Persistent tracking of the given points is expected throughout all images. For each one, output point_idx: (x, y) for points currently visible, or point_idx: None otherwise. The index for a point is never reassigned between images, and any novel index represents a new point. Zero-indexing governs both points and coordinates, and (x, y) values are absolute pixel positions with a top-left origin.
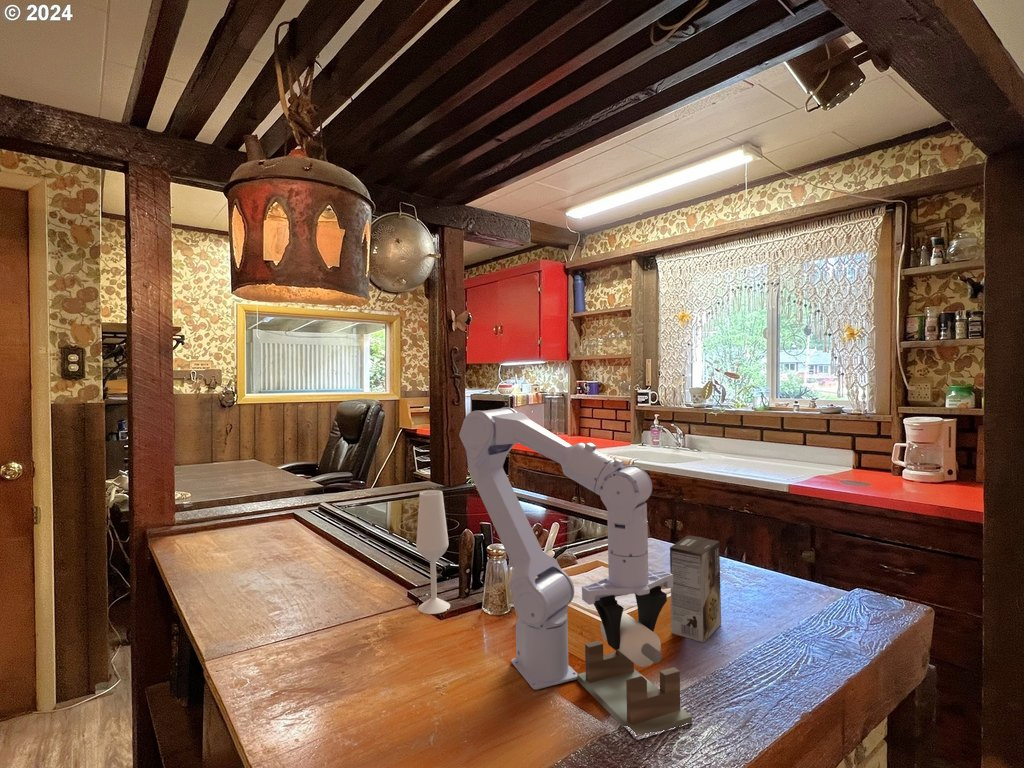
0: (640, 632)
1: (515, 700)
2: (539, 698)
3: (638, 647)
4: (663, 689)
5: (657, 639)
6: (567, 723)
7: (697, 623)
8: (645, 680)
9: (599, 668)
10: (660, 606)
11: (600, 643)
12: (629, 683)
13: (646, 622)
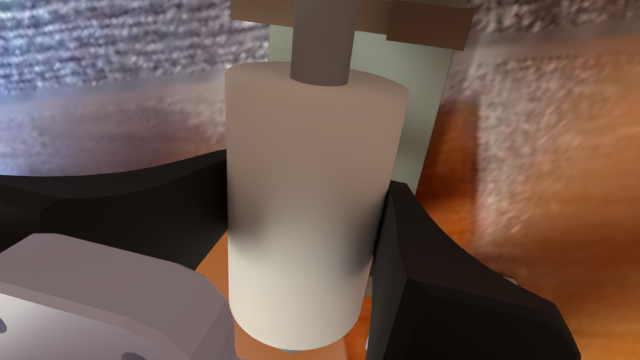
0: (324, 115)
1: (582, 279)
2: (528, 253)
3: (361, 90)
4: None
5: (237, 74)
6: (560, 141)
7: None
8: (399, 1)
9: None
10: (68, 181)
11: None
12: (469, 25)
13: (203, 199)
